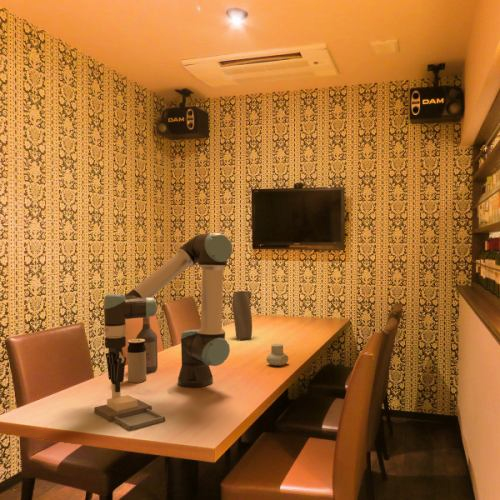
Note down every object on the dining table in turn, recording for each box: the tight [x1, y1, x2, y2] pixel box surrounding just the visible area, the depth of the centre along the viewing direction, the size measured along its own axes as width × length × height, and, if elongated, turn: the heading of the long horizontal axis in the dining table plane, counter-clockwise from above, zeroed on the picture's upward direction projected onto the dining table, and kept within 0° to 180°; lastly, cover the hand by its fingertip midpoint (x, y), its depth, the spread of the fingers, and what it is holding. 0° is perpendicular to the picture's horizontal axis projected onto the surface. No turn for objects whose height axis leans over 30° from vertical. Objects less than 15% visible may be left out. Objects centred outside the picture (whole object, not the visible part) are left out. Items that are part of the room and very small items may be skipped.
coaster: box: [106, 394, 139, 411], centre depth 181 cm, size 8×8×2 cm
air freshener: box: [266, 343, 289, 367], centre depth 248 cm, size 11×8×10 cm
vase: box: [231, 290, 253, 341], centre depth 318 cm, size 12×12×30 cm
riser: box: [93, 397, 153, 423], centre depth 181 cm, size 16×13×2 cm
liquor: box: [135, 317, 159, 374], centre depth 241 cm, size 9×9×30 cm
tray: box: [113, 409, 166, 432], centre depth 171 cm, size 13×12×2 cm
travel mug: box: [126, 338, 147, 383], centre depth 223 cm, size 8×8×18 cm
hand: (116, 400), depth 185 cm, fingers closed
